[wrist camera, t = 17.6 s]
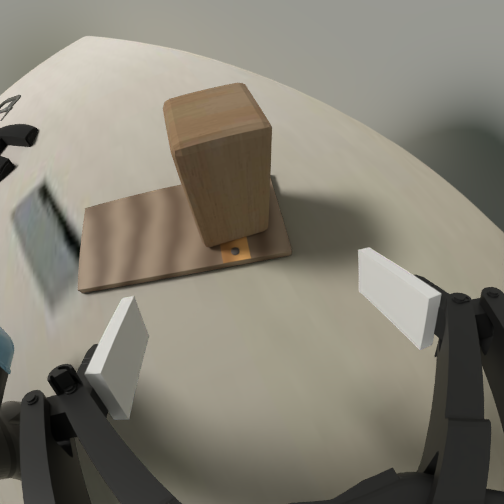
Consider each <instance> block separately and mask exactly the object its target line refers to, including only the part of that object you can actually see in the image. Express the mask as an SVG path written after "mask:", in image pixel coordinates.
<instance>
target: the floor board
mask: <svg viewBox="0 0 504 504" xmlns="http://www.w3.org/2000/svg"><path fill="white" fill-rule="evenodd" d="M291 253H292V249H291V245H290V242H289V238H288V235H287V231H286V228H285V225H284V221H283V218H282V214H281V211H280V208H279V204H278V201H277V198H276V194H275V191H274V188H273V185H272V181H271V178H270V197H269V221H268V228H267V229H266V230H265V231H263V232H260V233H256V234H253V235H250V236H246V237H243V238H239V239H236V240H233V241H229V242H226V243H223V244H219V245H216V246H212V247H206V246H205V245H204V244H203V243H202V240H201V237H200V235H199V232H198V229H197V226H196V224H195V221H194V218H193V215H192V213H191V210H190V207H189V204H188V201H187V198H186V195H185V193H184V190H183V187H182V185H177V186H173V187H168V188H163V189H159V190H155V191H150V192H146V193H142V194H138V195H134V196H130V197H126V198H122V199H118V200H114V201H110V202H107V203H103V204H99V205H96V206H92V207H89V208H85V215H84V222H83V230H82V238H81V248H80V260H79V274H78V291H80V292H81V293H86V292H92V291H98V290H104V289H109V288H115V287H121V286H127V285H132V284H138V283H144V282H149V281H155V280H160V279H166V278H171V277H177V276H183V275H188V274H193V273H199V272H204V271H210V270H215V269H221V268H226V267H231V266H237V265H242V264H247V263H253V262H258V261H263V260H269V259H274V258H279V257H284V256H289V255H291Z"/></svg>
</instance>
